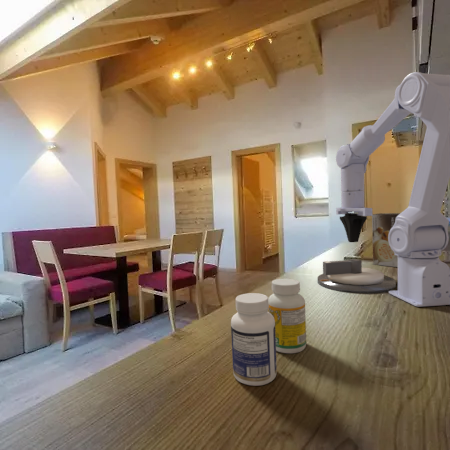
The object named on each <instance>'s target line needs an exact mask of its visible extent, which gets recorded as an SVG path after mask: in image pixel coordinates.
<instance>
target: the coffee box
mask: <svg viewBox="0 0 450 450" xmlns="http://www.w3.org/2000/svg"><path fill="white" fill-rule="evenodd" d="M400 213H401V212H397V213H396V212H394V213H392V212H389V213H381V212H379V213H374V214H373V213H372V216H371V224H372V225H371V227H372V231H371V234H372V235H371V237H372V240H371V241H372V265H374V266H383V267H384V266H385V267H386V266H387V267H394V268H398V256H397V255H395V252H394V251H393V250H392V249H391V247H390V245H389V241H388V235H389V231H390V229H391V228H392V227H393V225H394V223H395V220H396V217H397V216H398V215H399V214H400Z"/></svg>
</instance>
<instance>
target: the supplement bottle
mask: <svg viewBox="0 0 450 450" xmlns="http://www.w3.org/2000/svg"><path fill="white" fill-rule="evenodd" d="M271 291H272V294H271V295H269V296H268V303H269V307H268V308H269V309H268V311H267V312H269V313H270V314H272V316H273V317H274V320H275V337H276V352H278V353H282V354H297V353H300V352H302V351H304V349H305V348H307V347H306V346H307V329H306V328H307V327H306V325H307V323H306V321H307V320H306V301H305V300H306V299H305V298H304V297H303V295H301V294H300V291H301V284H300V281H299V280H297V279H292V278H276V279H273V280H272V281H271Z"/></svg>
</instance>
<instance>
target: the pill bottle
mask: <svg viewBox="0 0 450 450" xmlns="http://www.w3.org/2000/svg"><path fill="white" fill-rule="evenodd" d="M268 298H269V296H268V295H265V294H263V293H258V292H257V293H256V292H251V293H250V292H249V293H247V292H246V293H242V294H239V295H237V296H236V297H235V310H236V311H237V312H236V313H235V314H233V315H232V317H231V319H230V331H231V332H230V333H231V334H230V335H231V353H232V371H233V373H232V374H233V377H234V378H235V380H236V381H238V382H239V383H242V384H244V385H247V386H254V387H255V386H258V387H259V386H264V385H268V384H269V383H271V382H272V381H273V380H275V378H276V376H277V373H278V372H277V371H278V367H277V351H276V337H275V320H274V317H273V316H272V314H270V313H269V312H268V309H269V308H268V307H269V303H268Z"/></svg>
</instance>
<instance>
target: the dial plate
mask: <svg viewBox="0 0 450 450" xmlns="http://www.w3.org/2000/svg"><path fill="white" fill-rule="evenodd" d="M317 284H318V285H319V286H321V287H323V288H326V289H329V290H332V291H338V292H343V293H352V294H353V293H354V294H377V293H380V294H381V293H385V292H389V291H393V290H394V289H396V287H397V285H396V284H397V281H396V280H395V279H394V278H393V277H391V276H388V275H385V274H384V281H383V282H381V283H378V284H372V285H351V284H343V283H338V282H334V281H331V280H329V279H328V275H325V274H323V273H322V274H319V275H318V276H317Z"/></svg>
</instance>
